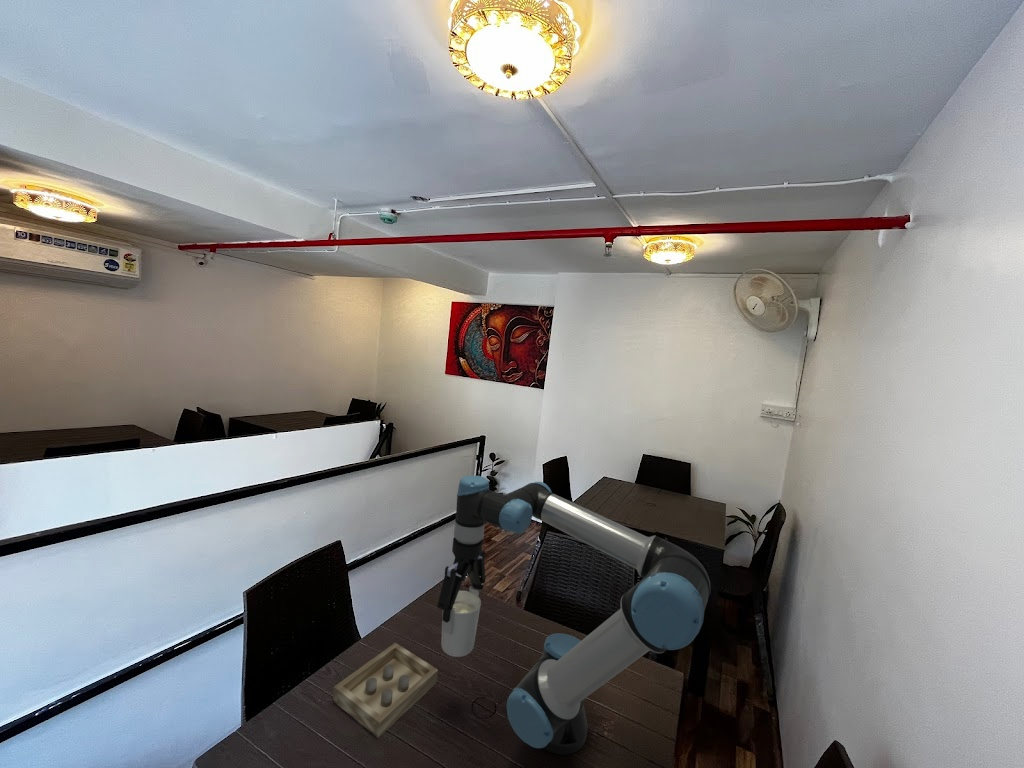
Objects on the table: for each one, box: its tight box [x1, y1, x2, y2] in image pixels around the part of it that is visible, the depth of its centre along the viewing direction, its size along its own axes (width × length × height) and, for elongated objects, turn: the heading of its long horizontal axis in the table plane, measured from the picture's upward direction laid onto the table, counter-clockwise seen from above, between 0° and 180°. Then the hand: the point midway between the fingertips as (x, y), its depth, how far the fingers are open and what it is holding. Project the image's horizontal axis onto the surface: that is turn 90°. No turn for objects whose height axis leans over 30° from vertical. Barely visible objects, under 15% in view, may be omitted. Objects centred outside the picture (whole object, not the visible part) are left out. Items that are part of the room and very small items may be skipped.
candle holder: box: [441, 590, 482, 658], centre depth 108 cm, size 10×10×12 cm
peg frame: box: [332, 642, 439, 739], centre depth 114 cm, size 17×21×4 cm
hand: (459, 621), depth 108 cm, fingers closed on candle holder, 9 cm apart
